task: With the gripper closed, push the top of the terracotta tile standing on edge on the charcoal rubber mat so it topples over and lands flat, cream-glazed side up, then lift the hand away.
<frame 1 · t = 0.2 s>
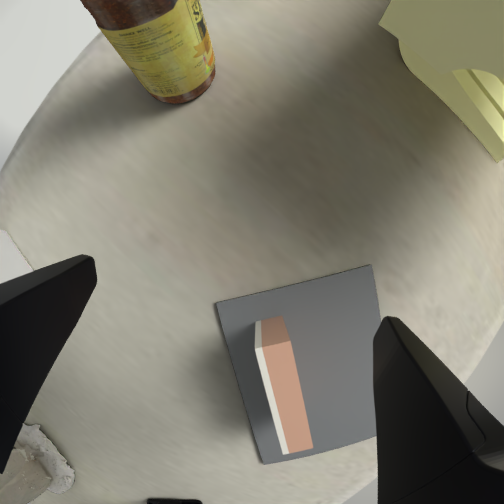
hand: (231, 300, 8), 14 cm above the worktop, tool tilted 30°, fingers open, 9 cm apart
tile: (280, 366, 22), resting on mat
milk carton: (10, 279, 23), on the worktop
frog: (35, 449, 24), on the worktop
mat: (315, 378, 22), on the worktop
sauce bottle: (181, 76, 22), on the worktop
yellow slatted pedestal stand: (464, 73, 22), on the worktop
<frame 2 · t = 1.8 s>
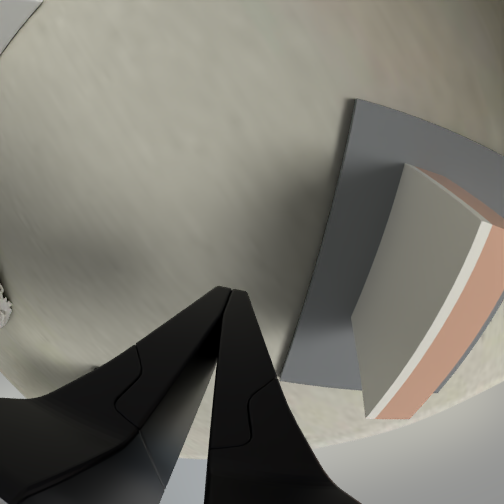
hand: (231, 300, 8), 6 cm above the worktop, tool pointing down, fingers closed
tile: (397, 253, 13), resting on mat
milk carton: (3, 11, 8), on the worktop
mat: (421, 291, 14), on the worktop
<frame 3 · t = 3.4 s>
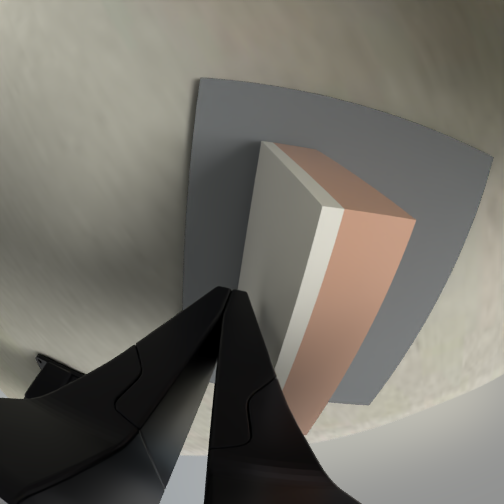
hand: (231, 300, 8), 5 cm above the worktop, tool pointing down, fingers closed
tile: (269, 245, 12), point 1 cm above the worktop, tilted 15°, touching mat
mat: (316, 288, 13), on the worktop
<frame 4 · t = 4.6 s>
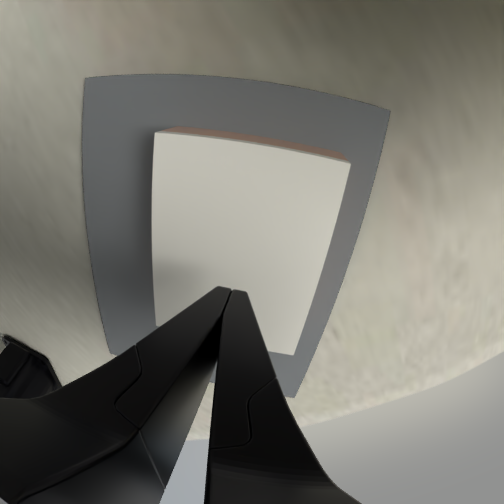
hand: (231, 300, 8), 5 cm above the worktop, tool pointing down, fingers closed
tile: (162, 233, 11), point 1 cm above the worktop, tilted 90°, touching mat
mat: (204, 265, 13), on the worktop
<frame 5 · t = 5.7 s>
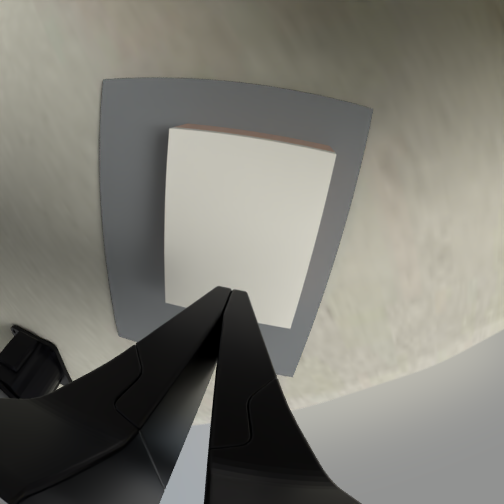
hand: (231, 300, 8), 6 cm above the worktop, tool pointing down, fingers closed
tile: (173, 217, 13), point 1 cm above the worktop, tilted 90°, touching mat
mat: (209, 248, 15), on the worktop
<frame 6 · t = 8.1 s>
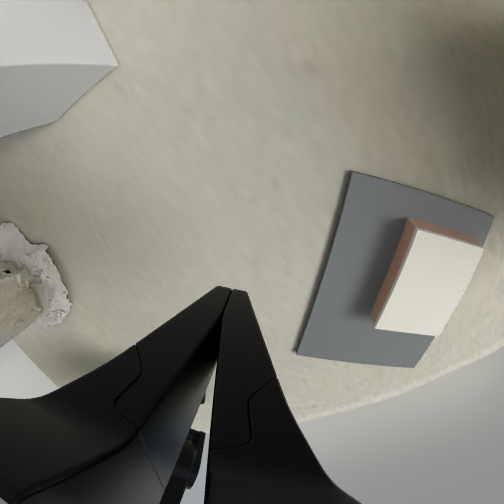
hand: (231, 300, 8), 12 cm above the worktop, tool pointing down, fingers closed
tile: (392, 275, 19), point 1 cm above the worktop, tilted 90°, touching mat
milk carton: (71, 60, 16), on the worktop
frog: (30, 272, 27), on the worktop
mat: (394, 290, 21), on the worktop
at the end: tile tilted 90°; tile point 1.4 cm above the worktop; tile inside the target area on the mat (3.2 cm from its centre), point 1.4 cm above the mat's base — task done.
